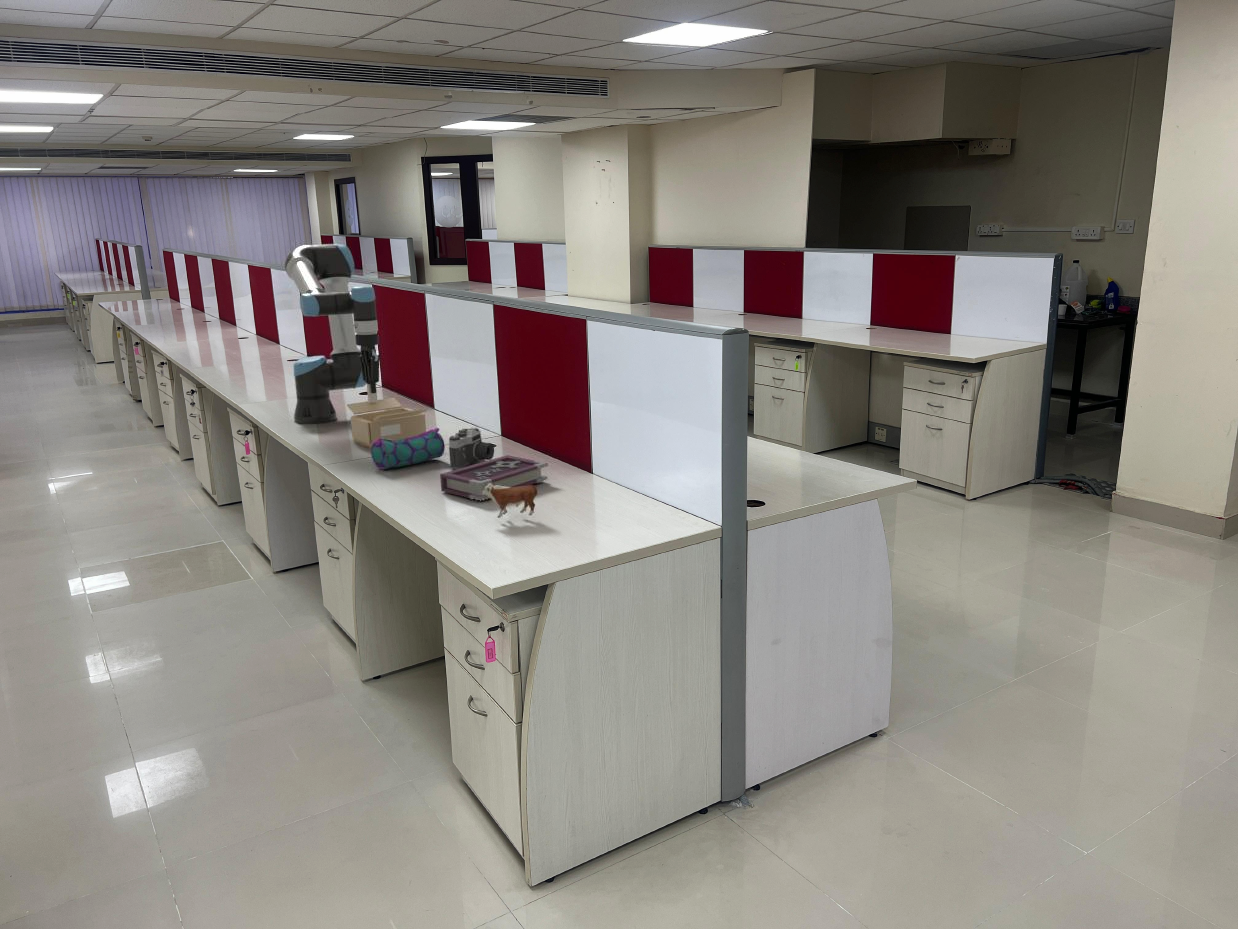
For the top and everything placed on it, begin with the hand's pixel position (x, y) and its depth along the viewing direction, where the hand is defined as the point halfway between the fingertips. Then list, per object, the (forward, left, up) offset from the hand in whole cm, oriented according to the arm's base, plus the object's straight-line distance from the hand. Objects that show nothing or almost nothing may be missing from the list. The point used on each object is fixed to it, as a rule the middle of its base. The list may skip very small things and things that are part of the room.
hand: (373, 402), depth 304 cm
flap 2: (+18, 0, -2) cm, 18 cm away
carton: (+11, 0, -12) cm, 16 cm away
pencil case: (+43, -9, -12) cm, 46 cm away
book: (+81, -2, -13) cm, 82 cm away
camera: (+56, +6, -12) cm, 57 cm away
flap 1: (+4, 0, -2) cm, 4 cm away
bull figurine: (+107, -14, -12) cm, 109 cm away
